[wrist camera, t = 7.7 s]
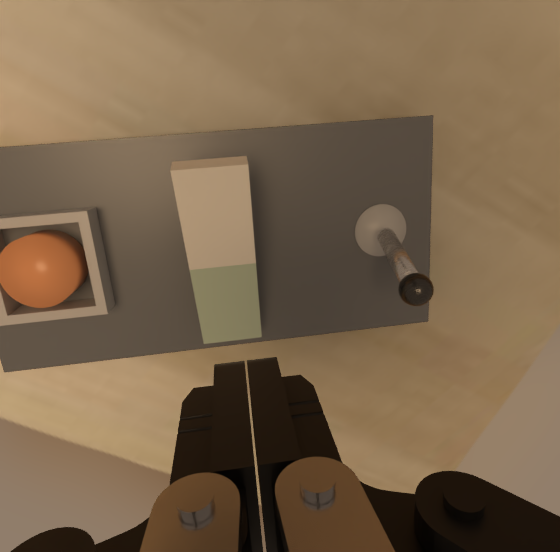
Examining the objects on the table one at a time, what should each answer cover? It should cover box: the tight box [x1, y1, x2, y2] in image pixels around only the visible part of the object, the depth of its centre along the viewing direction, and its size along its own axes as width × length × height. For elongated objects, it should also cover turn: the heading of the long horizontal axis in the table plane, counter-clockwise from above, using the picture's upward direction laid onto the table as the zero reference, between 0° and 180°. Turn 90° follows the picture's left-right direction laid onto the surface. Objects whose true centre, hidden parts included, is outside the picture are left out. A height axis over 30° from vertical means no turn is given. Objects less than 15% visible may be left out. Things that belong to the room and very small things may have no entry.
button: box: [0, 230, 88, 308], centre depth 22 cm, size 4×4×2 cm
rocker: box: [170, 156, 262, 344], centre depth 21 cm, size 10×3×1 cm, turn 5°
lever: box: [377, 228, 434, 306], centre depth 22 cm, size 2×2×6 cm
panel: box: [0, 115, 433, 372], centre depth 24 cm, size 12×25×4 cm, turn 95°
